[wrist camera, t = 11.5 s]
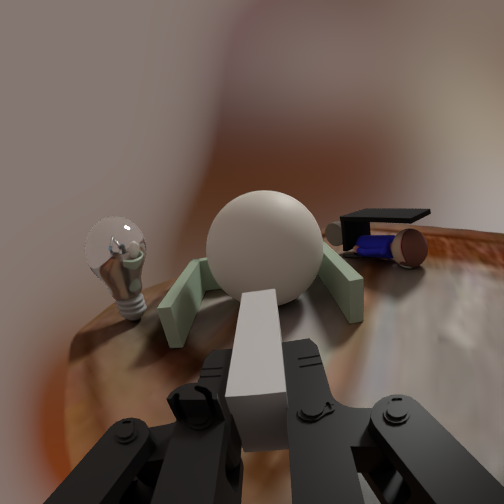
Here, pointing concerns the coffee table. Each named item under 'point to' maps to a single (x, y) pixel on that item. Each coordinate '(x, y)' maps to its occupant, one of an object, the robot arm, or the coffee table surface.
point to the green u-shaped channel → (201, 279)
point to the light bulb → (119, 262)
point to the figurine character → (380, 236)
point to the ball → (264, 246)
